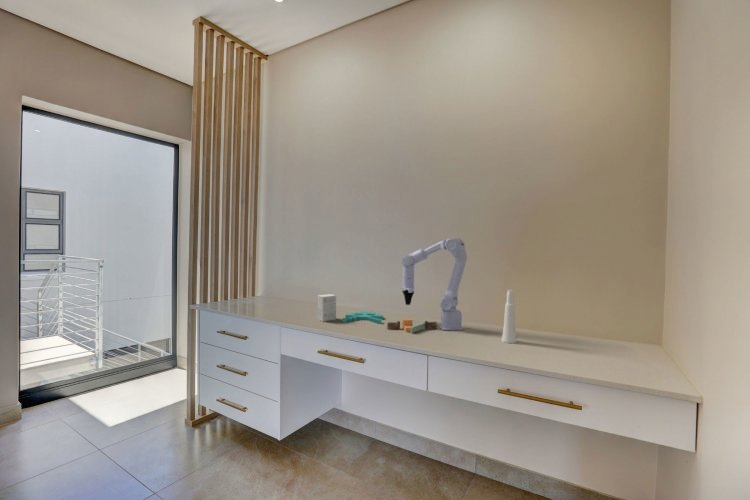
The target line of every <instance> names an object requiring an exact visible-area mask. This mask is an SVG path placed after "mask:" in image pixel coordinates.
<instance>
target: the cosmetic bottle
mask: <svg viewBox="0 0 750 500" xmlns="http://www.w3.org/2000/svg"><path fill="white" fill-rule="evenodd" d="M514 301H515V300H514V290H513V289H507V292H506V303H505V305H504V307H505V308H504V317H503V330H502V335H501V342H503V343H508V344H516V343H517V341H518V340H517V335H516V314H515V313H516V312H515V311H516V310H515V306H516V305H515V303H514Z"/></svg>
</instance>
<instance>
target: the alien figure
mask: <svg viewBox="0 0 750 500" xmlns="http://www.w3.org/2000/svg"><path fill="white" fill-rule="evenodd" d="M341 319H342V323H349V322H350V323H351V322H357V321H369V322H372V323H374V324H375V323H376V324H379V325H382V320H384V314H380V313H377V312H373V311H365V310H364V311H363V310H362V311H356V312H351V313H346V314H345V317H343V318H341Z"/></svg>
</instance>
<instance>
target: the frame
mask: <svg viewBox="0 0 750 500" xmlns="http://www.w3.org/2000/svg"><path fill="white" fill-rule="evenodd" d="M424 323H425V328H424V329H425V330H430V329H431V330H435V329H438V328H437V327H438V322H436V321H427V320H425V321H424ZM386 329H387V330H401V321H400V320H398V321H396V322H392V321H391V322H389V321H388V322H387V324H386Z"/></svg>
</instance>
